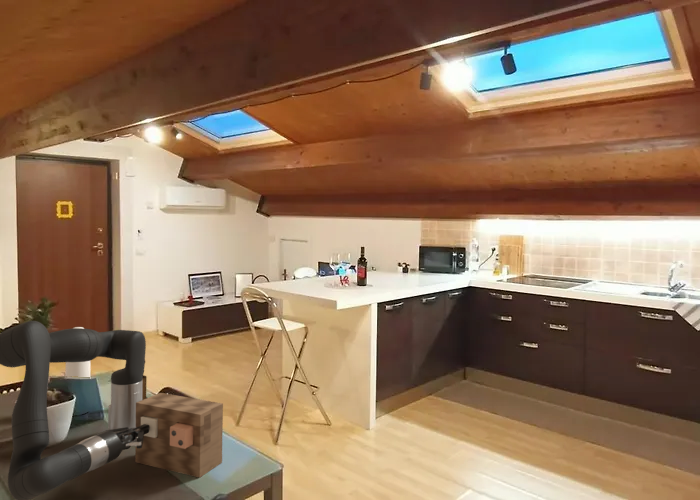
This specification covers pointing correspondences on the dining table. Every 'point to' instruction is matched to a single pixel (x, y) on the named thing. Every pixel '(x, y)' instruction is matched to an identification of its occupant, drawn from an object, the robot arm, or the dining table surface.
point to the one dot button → (150, 425)
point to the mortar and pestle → (144, 387)
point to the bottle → (78, 368)
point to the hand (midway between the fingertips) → (147, 427)
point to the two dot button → (181, 435)
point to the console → (186, 411)
